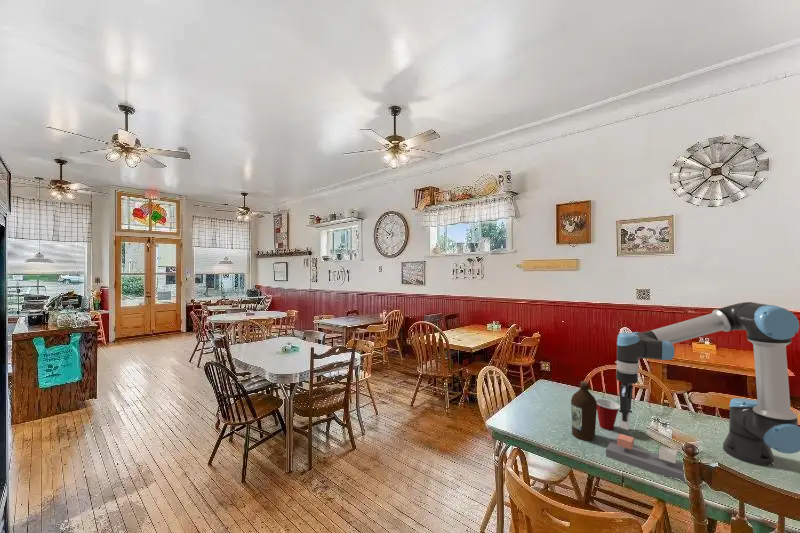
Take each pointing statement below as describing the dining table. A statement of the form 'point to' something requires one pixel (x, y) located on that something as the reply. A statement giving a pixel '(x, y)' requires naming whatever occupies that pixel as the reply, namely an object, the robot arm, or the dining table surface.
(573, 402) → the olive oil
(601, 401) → the plastic cup
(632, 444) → the salmon pink block
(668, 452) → the white key
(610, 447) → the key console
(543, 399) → the dining table surface
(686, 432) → the dining table surface
